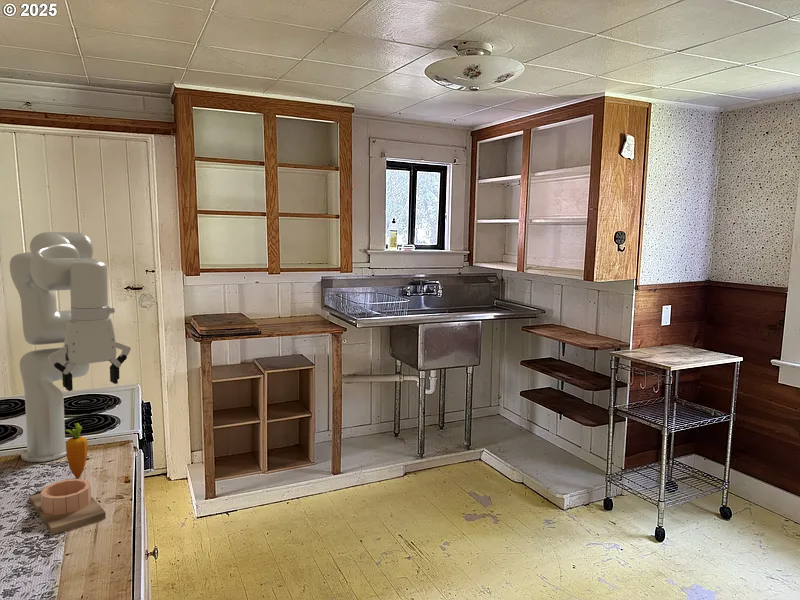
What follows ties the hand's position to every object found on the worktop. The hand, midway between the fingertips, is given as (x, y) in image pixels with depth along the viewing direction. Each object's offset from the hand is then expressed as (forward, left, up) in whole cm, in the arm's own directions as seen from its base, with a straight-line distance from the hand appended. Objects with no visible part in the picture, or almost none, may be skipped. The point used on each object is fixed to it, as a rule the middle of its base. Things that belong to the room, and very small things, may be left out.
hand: (92, 386), depth 130 cm
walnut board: (-4, -5, -31) cm, 31 cm away
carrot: (-21, +2, -31) cm, 38 cm away
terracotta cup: (-4, -5, -29) cm, 30 cm away
